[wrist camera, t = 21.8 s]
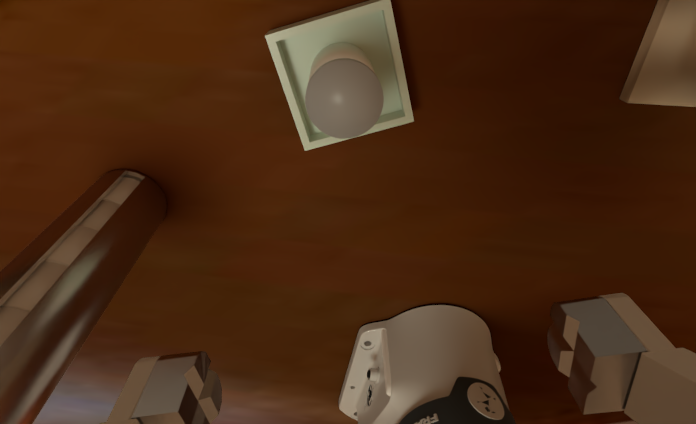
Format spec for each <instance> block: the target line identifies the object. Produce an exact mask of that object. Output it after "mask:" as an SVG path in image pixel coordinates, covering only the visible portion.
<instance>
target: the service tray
mask: <svg viewBox="0 0 696 424" xmlns="http://www.w3.org/2000/svg"><path fill="white" fill-rule="evenodd" d="M265 38H266V40H267V43H268V46H269V49H270V52H271V55H272V58H273V61H274V63H275V66H276V69H277V72H278V75H279V78H280V81H281V84H282V86H283V89H284V92H285V95H286V98H287V101H288V104H289V107H290V109H291V112H292V115H293V118H294V121H295V124H296V127H297V130H298V132H299V135H300V138H301V141H302V144H303V147H304V150H305V151H306V150H310V149H314V148H318V147H321V146H325V145H329V144H332V143H336V142H340V141H343V140H347V139H351V138H347V139H341V138H335V137H331V136H329V135H327V134H325V133H323V132H321V131H320V130H319V129H318V128H317V127H316V126H315V125H314V124H313V122H312V121H311V119H310V118H309V116H308V113H307V110H306V104H305V95H306V89H307V85H308V82H309V76H310V70H311V66H312V63H313V60H314V59H315V57H316V55H317V54H318V53H319V52H320V51H321V50H322V49H323V48H325V47H327V46H328V45H331V44H334V43H341V42H342V43H349V44H352V45H355V46H357V47H358V48H360V49H361V50H362V51H363V52H364V53H365V54H366V55H367V56H368V58H369V60H370V62H371V64H372V67H373V69H374V72H375V74H376V76H377V78H378V80H379V82H380V84H381V87H382V90H383V96H384V102H383V108H382V112H381V115H380V117H379V119H378V120H377V122H376V123H375V124H374V126H373V127H372V128H371V129H369V130H368V131H367V132H365V133H364V134H362V135H366V134H369V133H373V132H377V131H381V130H384V129H388V128H392V127H395V126H399V125H403V124H406V123H410V122H414V118H413V113H412V108H411V103H410V98H409V93H408V87H407V82H406V77H405V72H404V67H403V62H402V57H401V51H400V46H399V41H398V36H397V31H396V26H395V21H394V15H393V10H392V5H391V0H369V1H366V2H362V3H359V4H356V5H352V6H349V7H346V8H342V9H339V10H336V11H333V12H329V13H326V14H323V15H319V16H316V17H313V18H309V19H306V20H303V21H300V22H296V23H293V24H290V25H286V26H283V27H280V28H276V29H273V30H270V31H268V33H267V34H266V35H265ZM362 135H360V136H362ZM357 137H358V136H357ZM354 138H355V137H354Z"/></svg>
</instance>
